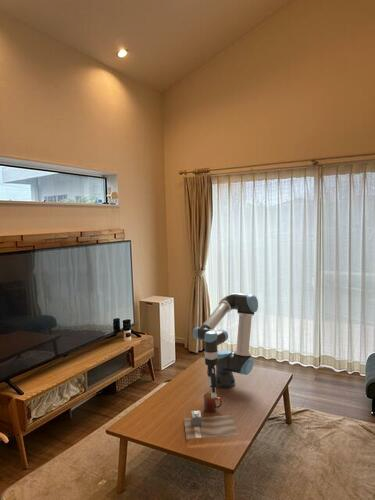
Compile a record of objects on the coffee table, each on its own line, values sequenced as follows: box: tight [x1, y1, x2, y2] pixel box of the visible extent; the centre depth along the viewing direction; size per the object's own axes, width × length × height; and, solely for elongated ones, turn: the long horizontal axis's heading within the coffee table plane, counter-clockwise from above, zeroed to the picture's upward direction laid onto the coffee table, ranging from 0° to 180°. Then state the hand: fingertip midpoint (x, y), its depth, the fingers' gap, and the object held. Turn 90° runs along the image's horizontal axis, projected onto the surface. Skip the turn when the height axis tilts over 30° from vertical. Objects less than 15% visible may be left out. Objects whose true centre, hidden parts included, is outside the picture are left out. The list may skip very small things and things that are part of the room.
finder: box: [190, 410, 202, 426], centre depth 211 cm, size 7×5×5 cm
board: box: [183, 414, 239, 442], centre depth 208 cm, size 23×28×1 cm
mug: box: [202, 391, 223, 414], centre depth 223 cm, size 12×9×10 cm
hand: (211, 392), depth 222 cm, fingers open, 13 cm apart
